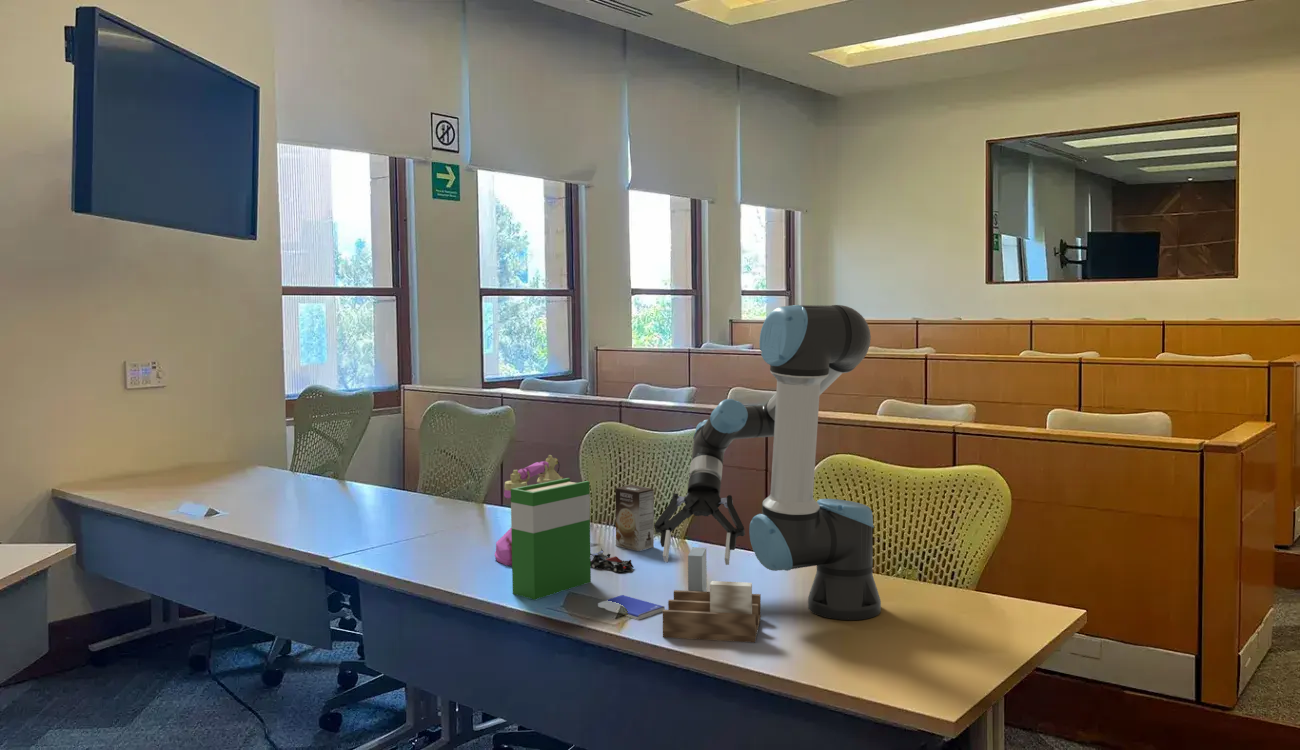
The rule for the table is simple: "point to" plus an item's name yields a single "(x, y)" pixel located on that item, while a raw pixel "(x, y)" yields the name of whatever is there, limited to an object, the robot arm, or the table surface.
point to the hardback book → (550, 537)
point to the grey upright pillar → (697, 570)
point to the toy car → (610, 563)
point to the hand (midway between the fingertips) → (695, 560)
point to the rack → (714, 613)
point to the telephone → (505, 542)
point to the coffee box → (635, 517)
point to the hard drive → (637, 607)
